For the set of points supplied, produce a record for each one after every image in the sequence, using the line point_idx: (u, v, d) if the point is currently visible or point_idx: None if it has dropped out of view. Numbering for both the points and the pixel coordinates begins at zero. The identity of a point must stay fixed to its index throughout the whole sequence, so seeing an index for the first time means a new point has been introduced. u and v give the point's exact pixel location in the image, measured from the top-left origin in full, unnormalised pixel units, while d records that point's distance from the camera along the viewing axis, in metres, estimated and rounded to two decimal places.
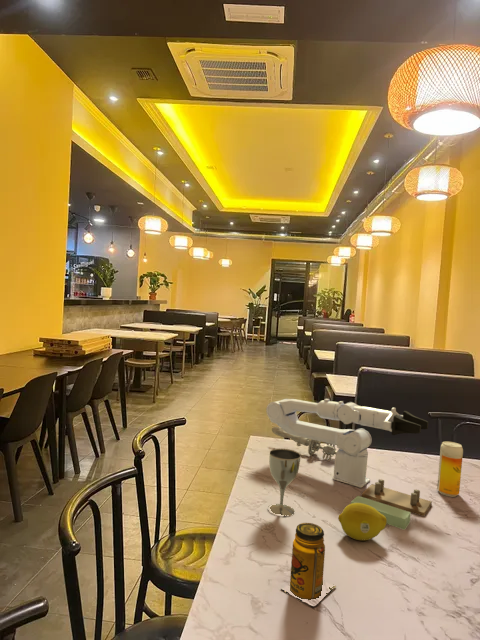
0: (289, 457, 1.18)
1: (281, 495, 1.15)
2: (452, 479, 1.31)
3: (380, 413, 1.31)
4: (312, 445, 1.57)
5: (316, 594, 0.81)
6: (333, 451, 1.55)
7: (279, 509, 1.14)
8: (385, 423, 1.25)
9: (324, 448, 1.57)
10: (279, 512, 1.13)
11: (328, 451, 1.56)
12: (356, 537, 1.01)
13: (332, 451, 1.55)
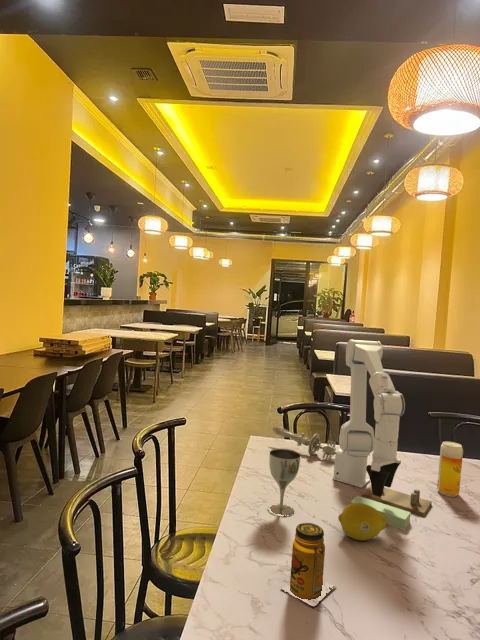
0: (289, 457, 1.18)
1: (281, 495, 1.15)
2: (452, 479, 1.31)
3: (391, 448, 1.12)
4: (312, 445, 1.58)
5: (316, 594, 0.81)
6: (333, 451, 1.55)
7: (279, 509, 1.14)
8: (377, 466, 1.09)
9: (324, 448, 1.57)
10: (279, 512, 1.13)
11: (328, 451, 1.56)
12: (356, 537, 1.01)
13: (332, 451, 1.55)
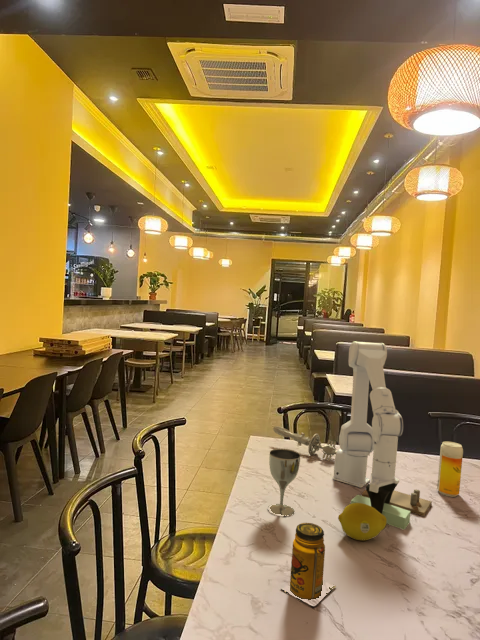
0: (289, 457, 1.18)
1: (281, 495, 1.15)
2: (452, 479, 1.31)
3: (389, 469, 1.12)
4: (312, 445, 1.58)
5: (316, 594, 0.81)
6: (333, 451, 1.55)
7: (279, 509, 1.14)
8: (375, 487, 1.09)
9: (324, 448, 1.57)
10: (279, 512, 1.13)
11: (328, 451, 1.56)
12: (356, 537, 1.01)
13: (332, 451, 1.55)
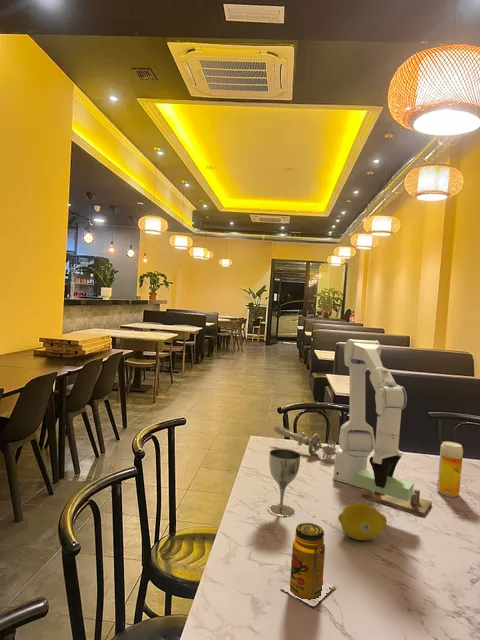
0: (289, 457, 1.18)
1: (281, 495, 1.15)
2: (452, 479, 1.31)
3: (392, 441, 1.13)
4: (312, 444, 1.58)
5: (316, 594, 0.81)
6: (333, 451, 1.55)
7: (279, 509, 1.14)
8: (378, 458, 1.10)
9: (324, 448, 1.57)
10: (279, 512, 1.13)
11: (328, 451, 1.56)
12: (356, 537, 1.01)
13: (332, 451, 1.55)
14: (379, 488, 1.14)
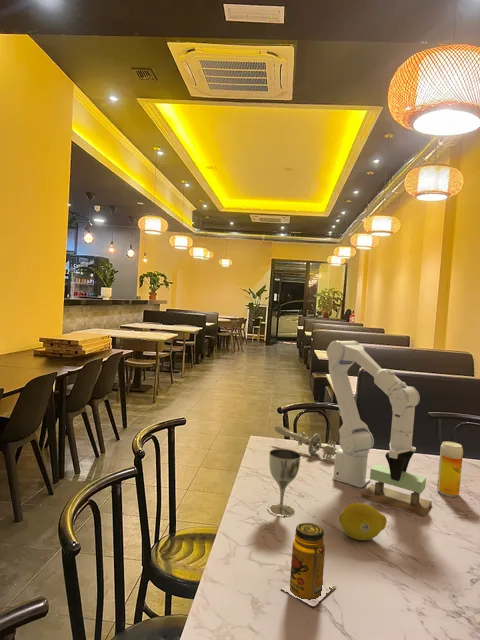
0: (289, 457, 1.18)
1: (281, 495, 1.15)
2: (452, 479, 1.31)
3: (407, 438, 1.22)
4: (312, 444, 1.58)
5: (316, 594, 0.81)
6: (333, 451, 1.55)
7: (279, 509, 1.14)
8: (394, 453, 1.19)
9: (324, 448, 1.57)
10: (279, 512, 1.13)
11: (328, 451, 1.56)
12: (356, 537, 1.01)
13: (332, 451, 1.55)
14: (394, 482, 1.24)
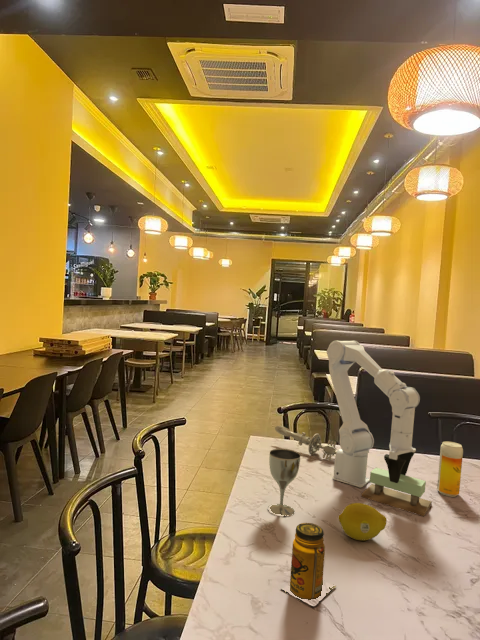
0: (289, 457, 1.18)
1: (281, 495, 1.15)
2: (452, 479, 1.31)
3: (406, 439, 1.22)
4: (312, 444, 1.58)
5: (316, 594, 0.81)
6: (333, 451, 1.55)
7: (279, 509, 1.14)
8: (394, 454, 1.19)
9: (324, 448, 1.57)
10: (279, 512, 1.13)
11: (328, 451, 1.56)
12: (356, 537, 1.01)
13: (332, 451, 1.55)
14: (393, 485, 1.24)
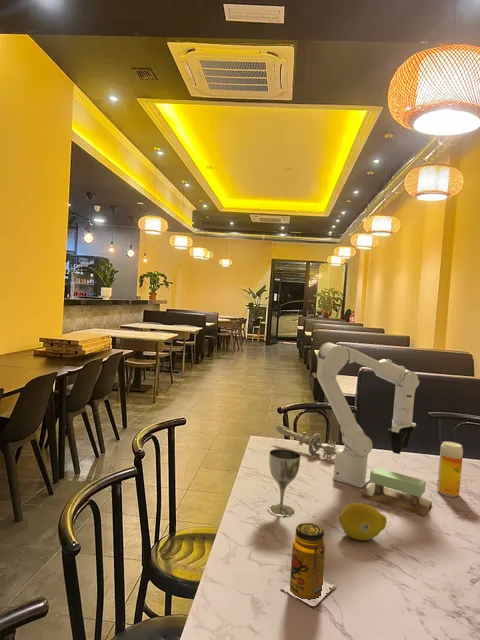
0: (289, 457, 1.18)
1: (281, 495, 1.15)
2: (452, 479, 1.31)
3: (407, 415, 1.37)
4: (313, 444, 1.58)
5: (316, 594, 0.81)
6: (333, 451, 1.55)
7: (279, 509, 1.14)
8: (396, 428, 1.34)
9: (324, 447, 1.57)
10: (279, 512, 1.13)
11: (328, 451, 1.56)
12: (356, 537, 1.01)
13: (332, 451, 1.55)
14: (393, 485, 1.24)
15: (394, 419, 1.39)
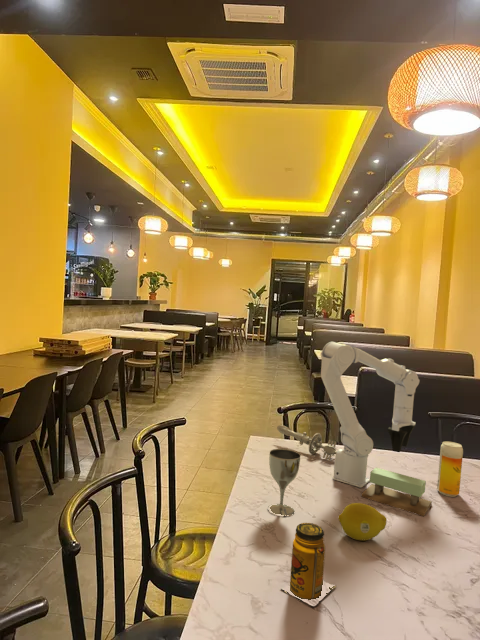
0: (289, 457, 1.18)
1: (281, 495, 1.15)
2: (452, 479, 1.31)
3: (407, 413, 1.39)
4: (313, 444, 1.59)
5: (316, 594, 0.81)
6: (333, 451, 1.55)
7: (279, 509, 1.14)
8: (396, 426, 1.35)
9: (325, 447, 1.57)
10: (279, 512, 1.13)
11: (328, 450, 1.56)
12: (356, 537, 1.01)
13: (332, 451, 1.55)
14: (393, 485, 1.24)
15: (394, 418, 1.41)
